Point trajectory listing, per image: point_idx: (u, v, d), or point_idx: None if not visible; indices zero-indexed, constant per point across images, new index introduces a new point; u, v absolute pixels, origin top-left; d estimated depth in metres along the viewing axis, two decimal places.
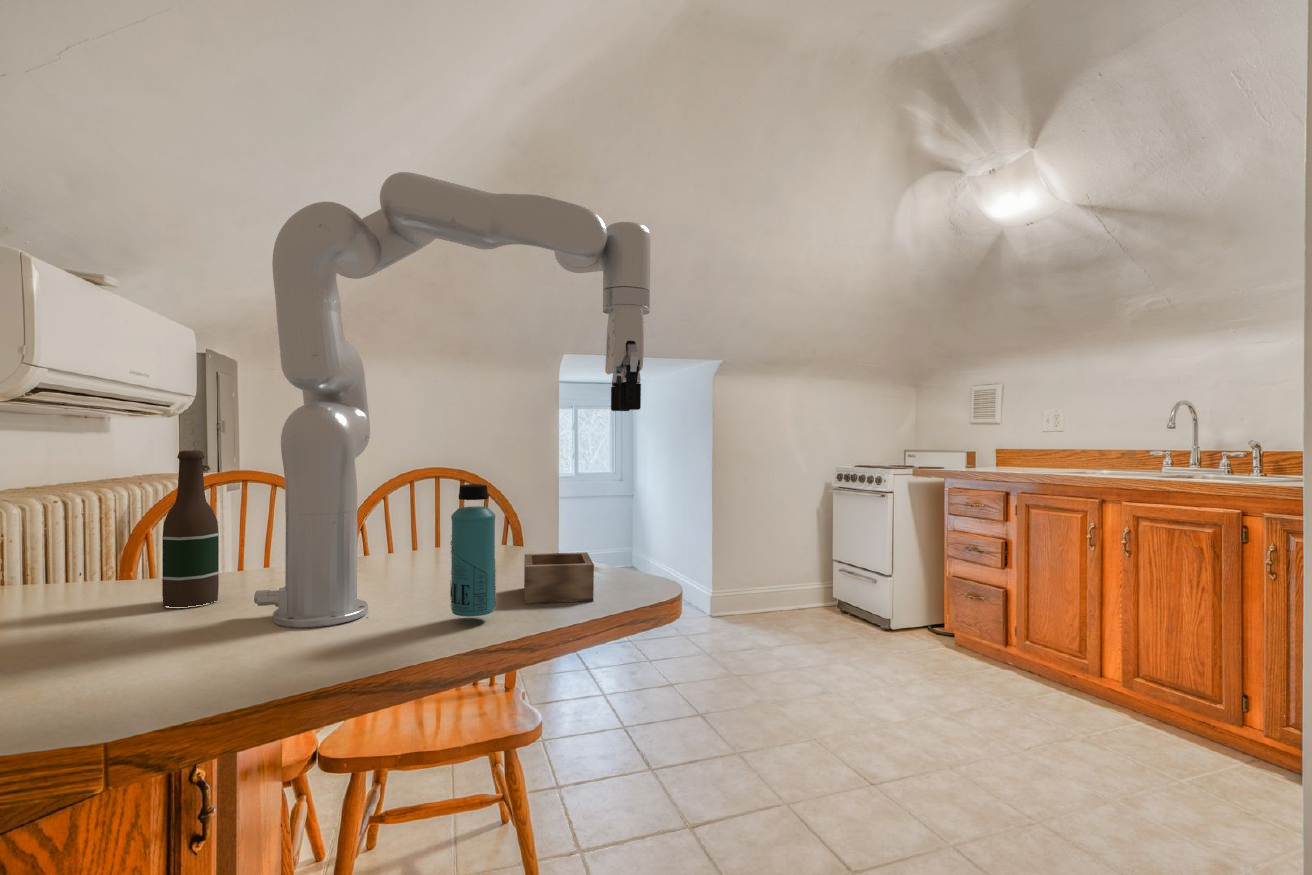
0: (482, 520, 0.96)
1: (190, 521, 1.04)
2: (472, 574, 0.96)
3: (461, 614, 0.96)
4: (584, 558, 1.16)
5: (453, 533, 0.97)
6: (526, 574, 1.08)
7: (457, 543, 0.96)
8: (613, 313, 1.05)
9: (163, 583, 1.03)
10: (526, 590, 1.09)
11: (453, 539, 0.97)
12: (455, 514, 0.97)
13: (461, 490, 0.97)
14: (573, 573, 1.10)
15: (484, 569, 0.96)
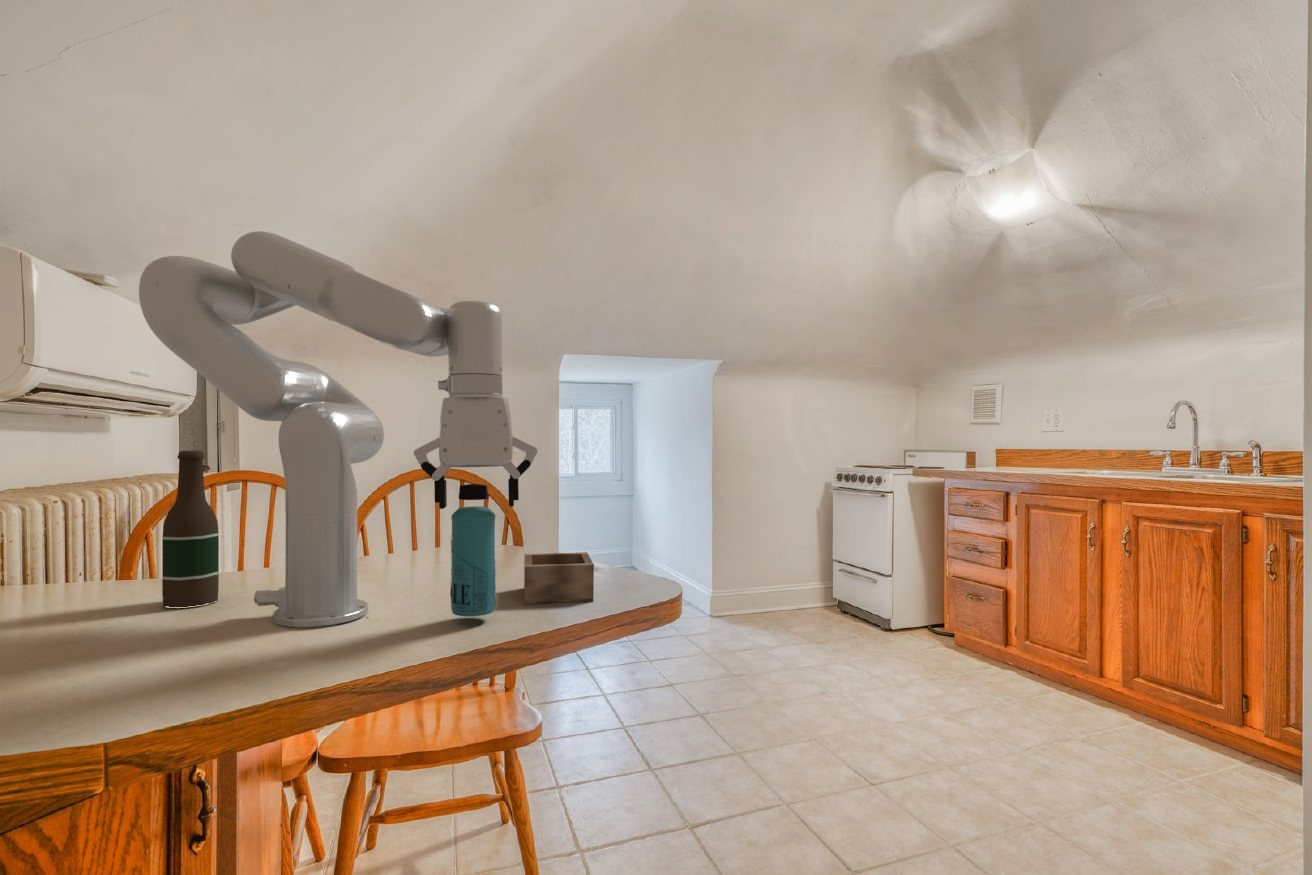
0: (482, 520, 0.96)
1: (190, 521, 1.04)
2: (472, 574, 0.96)
3: (461, 614, 0.96)
4: (584, 558, 1.16)
5: (453, 533, 0.97)
6: (526, 574, 1.08)
7: (457, 543, 0.96)
8: (498, 403, 0.96)
9: (163, 583, 1.03)
10: (526, 590, 1.09)
11: (453, 539, 0.97)
12: (455, 514, 0.97)
13: (461, 490, 0.97)
14: (573, 573, 1.10)
15: (484, 569, 0.96)
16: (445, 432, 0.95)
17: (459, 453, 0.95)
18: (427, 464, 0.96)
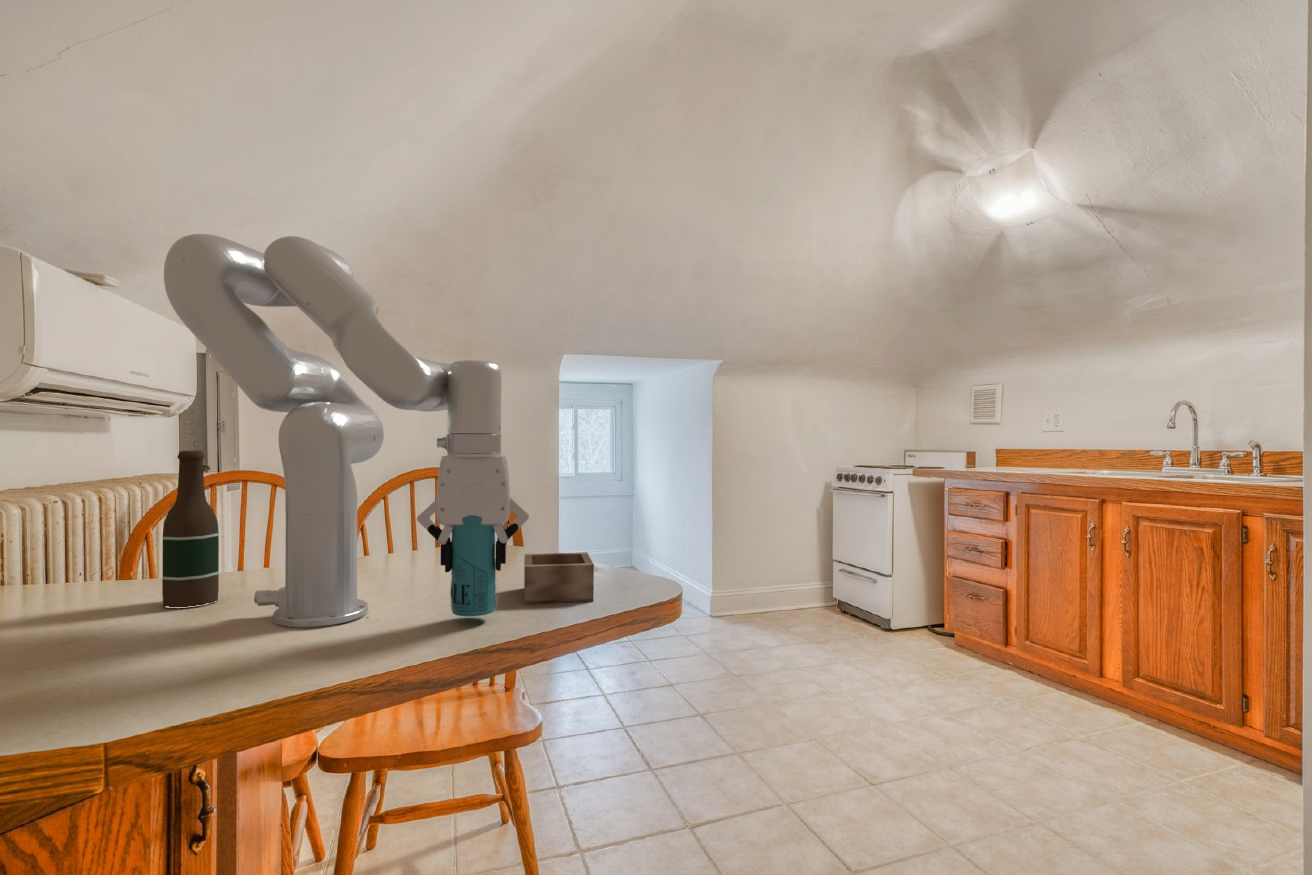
0: None
1: (190, 520, 1.04)
2: (473, 573, 0.96)
3: (461, 614, 0.96)
4: (584, 558, 1.16)
5: (453, 533, 0.97)
6: (526, 574, 1.08)
7: (457, 543, 0.96)
8: (496, 462, 0.97)
9: (163, 583, 1.03)
10: (526, 590, 1.09)
11: (453, 539, 0.97)
12: None
13: None
14: (573, 573, 1.10)
15: (484, 569, 0.96)
16: (443, 491, 0.95)
17: (456, 512, 0.95)
18: (434, 527, 0.97)
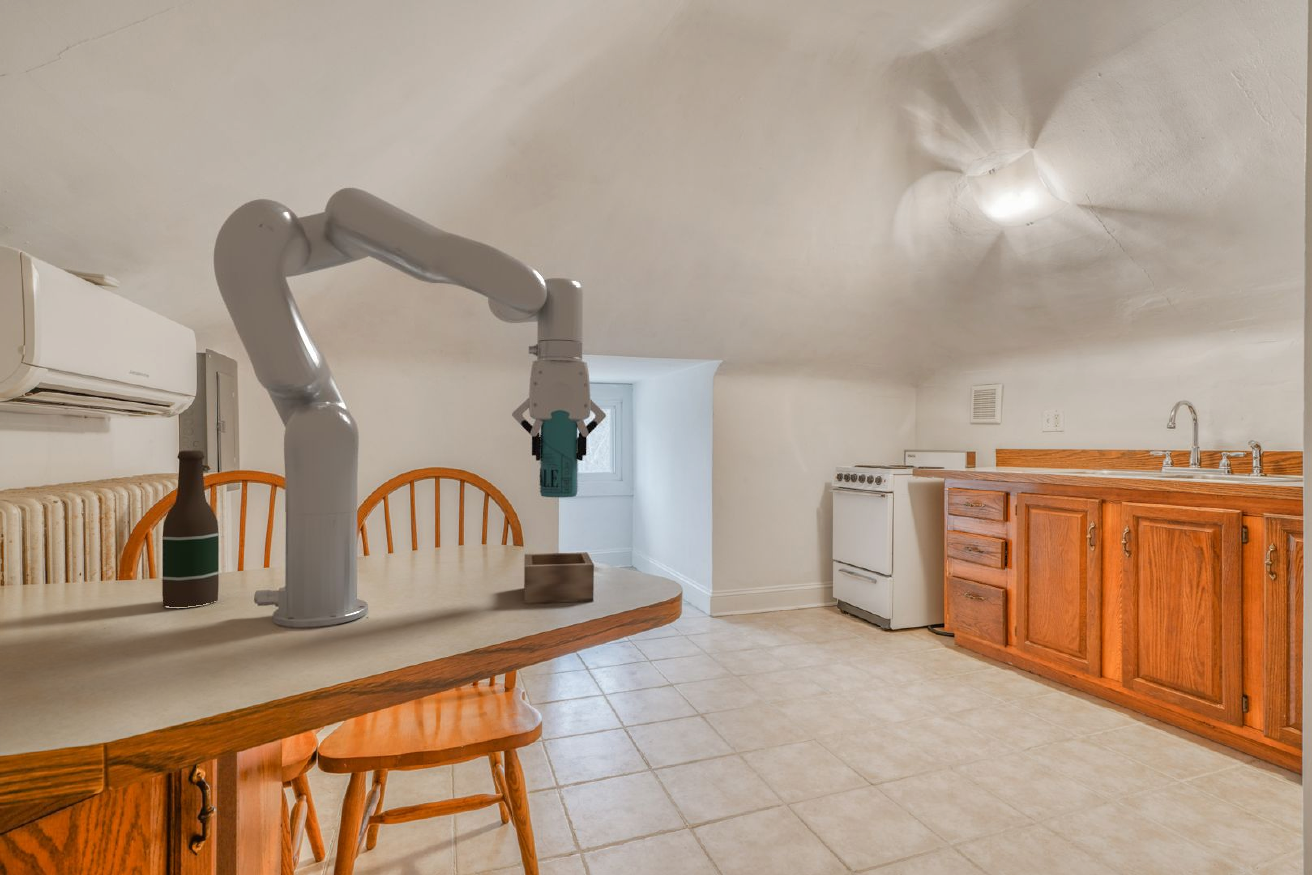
0: (568, 415, 1.12)
1: (190, 520, 1.04)
2: (560, 460, 1.12)
3: (550, 495, 1.12)
4: (584, 558, 1.16)
5: (543, 427, 1.13)
6: (526, 574, 1.08)
7: (547, 434, 1.12)
8: (580, 366, 1.13)
9: (163, 583, 1.03)
10: (526, 590, 1.09)
11: (543, 432, 1.13)
12: None
13: None
14: (573, 573, 1.10)
15: (570, 457, 1.12)
16: (535, 389, 1.11)
17: (547, 408, 1.11)
18: (526, 422, 1.13)
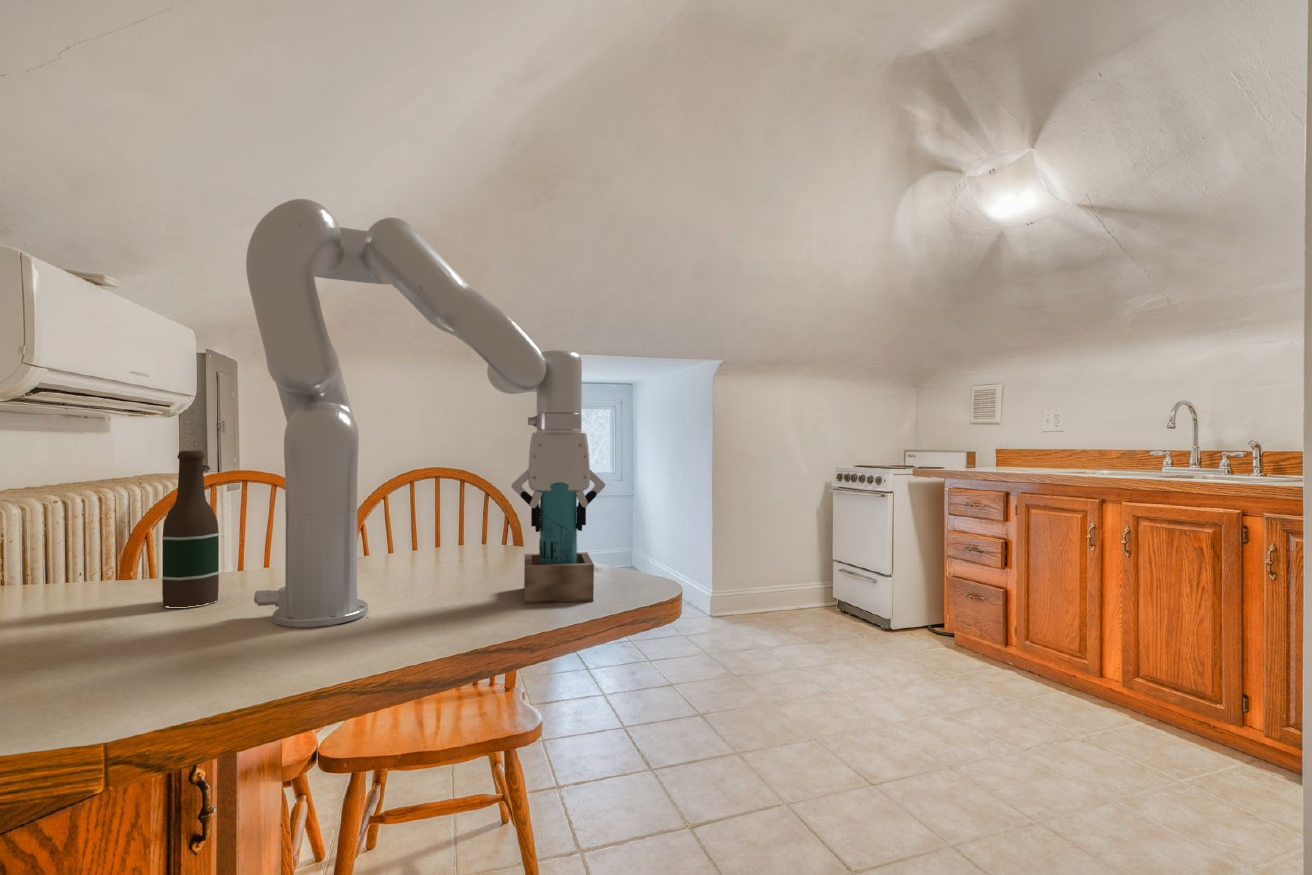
0: (567, 487, 1.12)
1: (190, 520, 1.04)
2: (560, 532, 1.12)
3: None
4: (584, 558, 1.16)
5: (542, 498, 1.13)
6: (526, 574, 1.08)
7: (546, 506, 1.12)
8: (579, 438, 1.13)
9: (163, 583, 1.03)
10: (526, 590, 1.09)
11: (542, 503, 1.13)
12: None
13: None
14: (573, 573, 1.10)
15: (569, 529, 1.13)
16: (534, 462, 1.11)
17: (546, 480, 1.12)
18: (526, 494, 1.13)
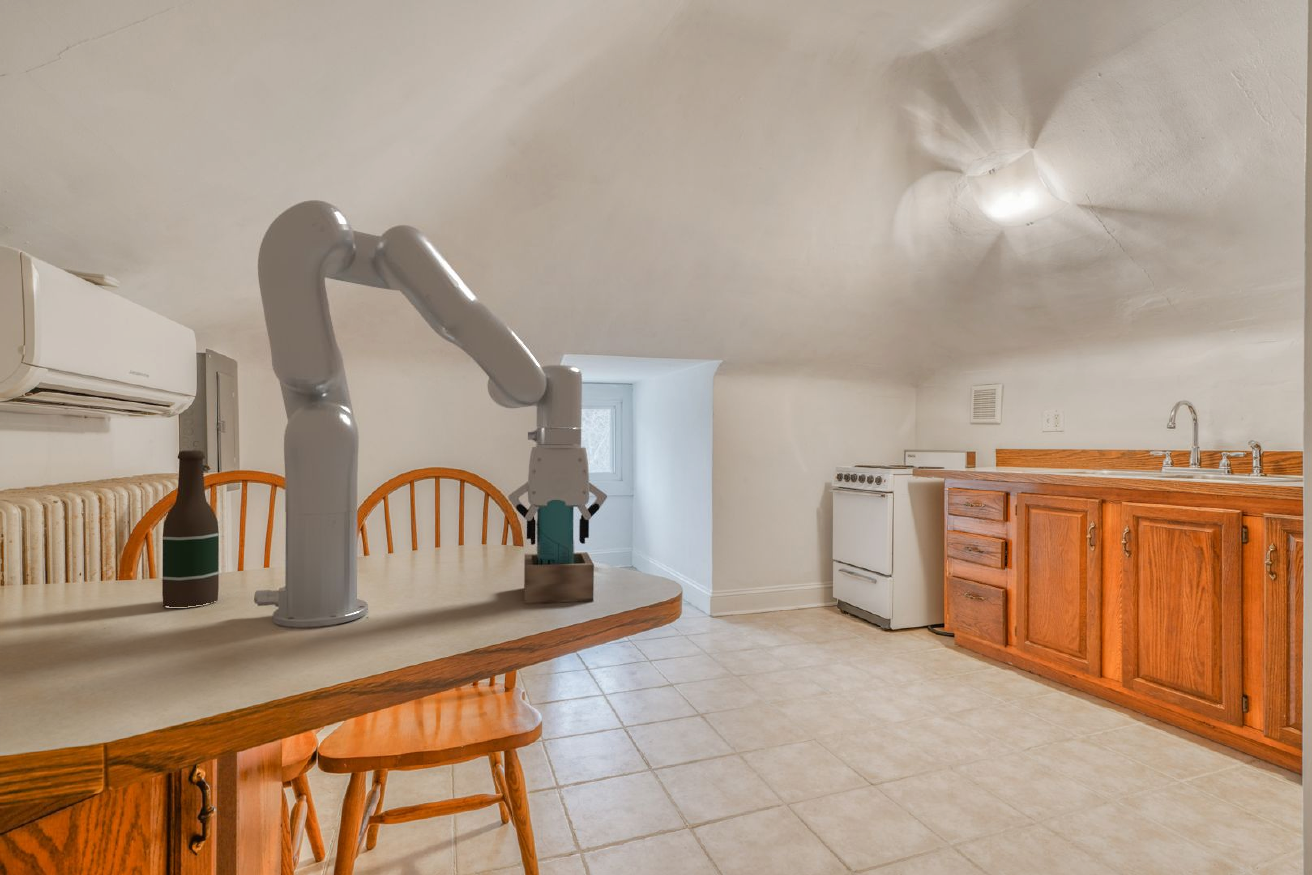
0: (564, 504, 1.12)
1: (190, 520, 1.04)
2: (557, 550, 1.12)
3: None
4: (584, 558, 1.16)
5: (539, 515, 1.13)
6: (526, 574, 1.08)
7: (543, 524, 1.12)
8: (579, 453, 1.13)
9: (163, 583, 1.03)
10: (526, 590, 1.09)
11: (539, 521, 1.13)
12: None
13: None
14: (573, 573, 1.10)
15: (566, 546, 1.13)
16: (534, 477, 1.11)
17: (545, 495, 1.12)
18: (521, 506, 1.13)
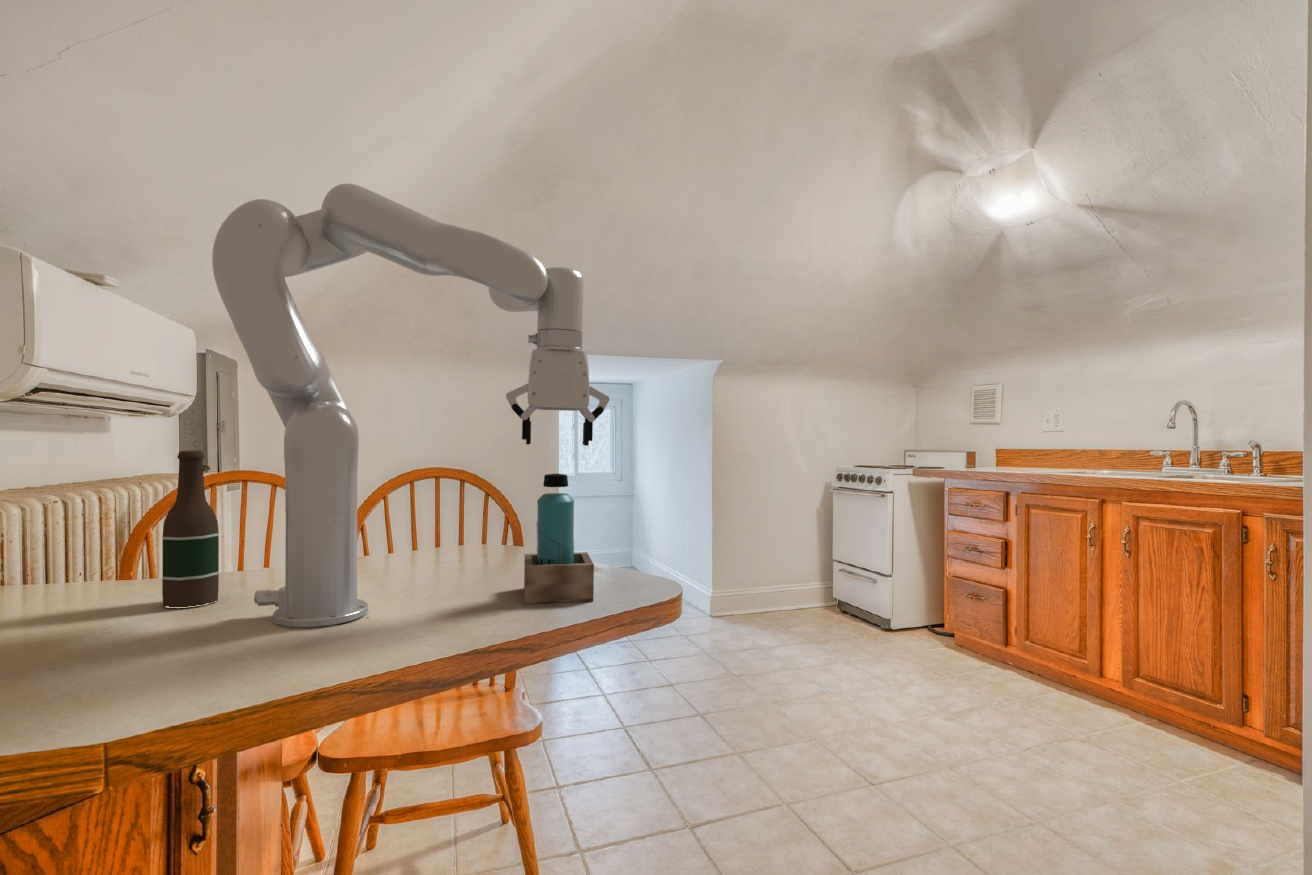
0: (565, 505, 1.12)
1: (190, 521, 1.04)
2: (557, 550, 1.12)
3: None
4: (584, 558, 1.16)
5: (540, 515, 1.13)
6: (526, 574, 1.08)
7: (543, 524, 1.12)
8: (579, 356, 1.13)
9: (163, 583, 1.03)
10: (526, 590, 1.09)
11: (540, 521, 1.13)
12: (541, 499, 1.13)
13: (546, 479, 1.13)
14: (573, 573, 1.10)
15: (566, 546, 1.13)
16: (534, 378, 1.11)
17: (545, 397, 1.11)
18: (517, 406, 1.12)
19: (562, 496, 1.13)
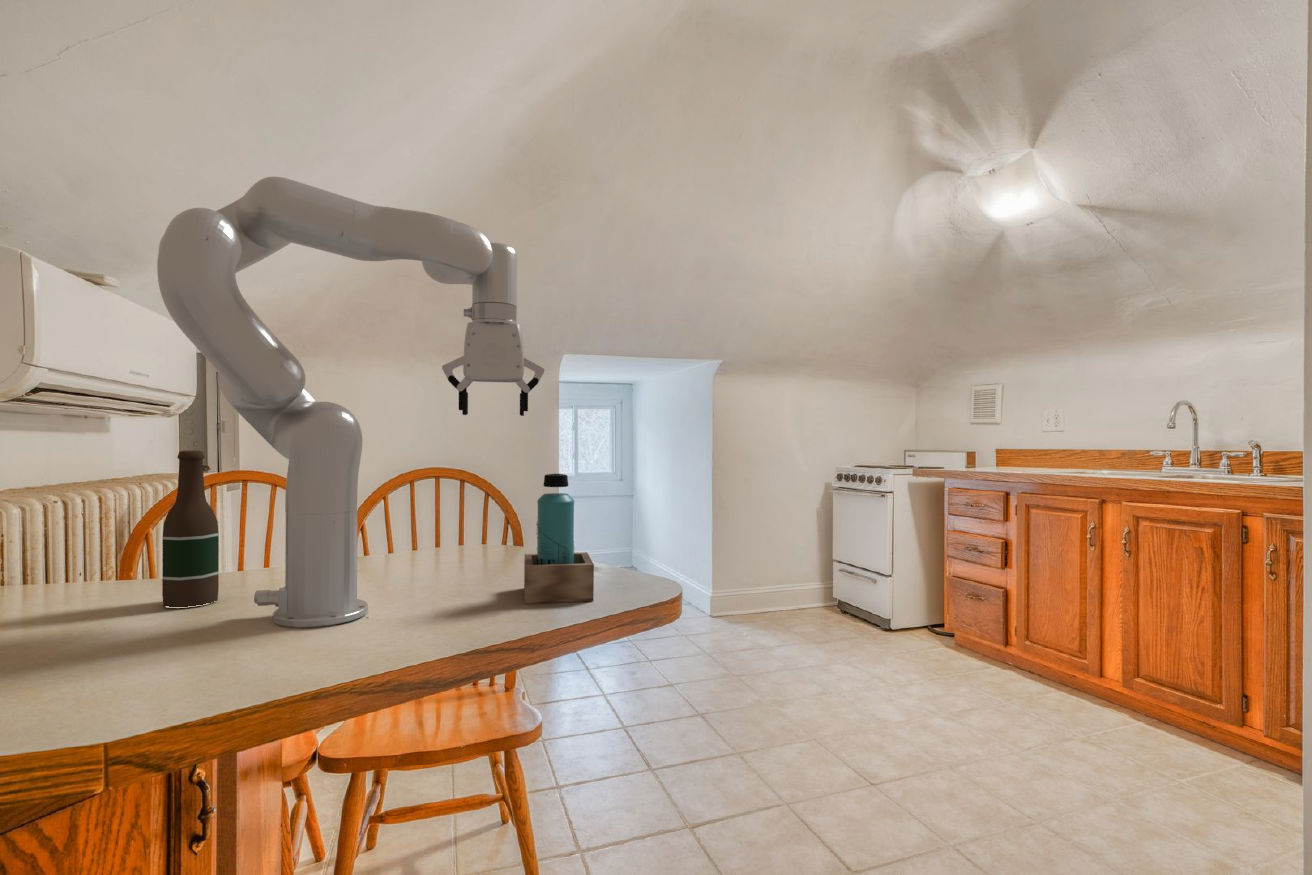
0: (565, 505, 1.12)
1: (190, 521, 1.04)
2: (557, 550, 1.12)
3: None
4: (584, 558, 1.16)
5: (540, 515, 1.13)
6: (526, 574, 1.08)
7: (543, 524, 1.12)
8: (513, 328, 1.16)
9: (163, 583, 1.03)
10: (526, 590, 1.09)
11: (540, 521, 1.13)
12: (541, 499, 1.13)
13: (546, 479, 1.13)
14: (573, 573, 1.10)
15: (566, 546, 1.13)
16: (469, 350, 1.15)
17: (480, 368, 1.15)
18: (453, 377, 1.16)
19: (562, 496, 1.13)
